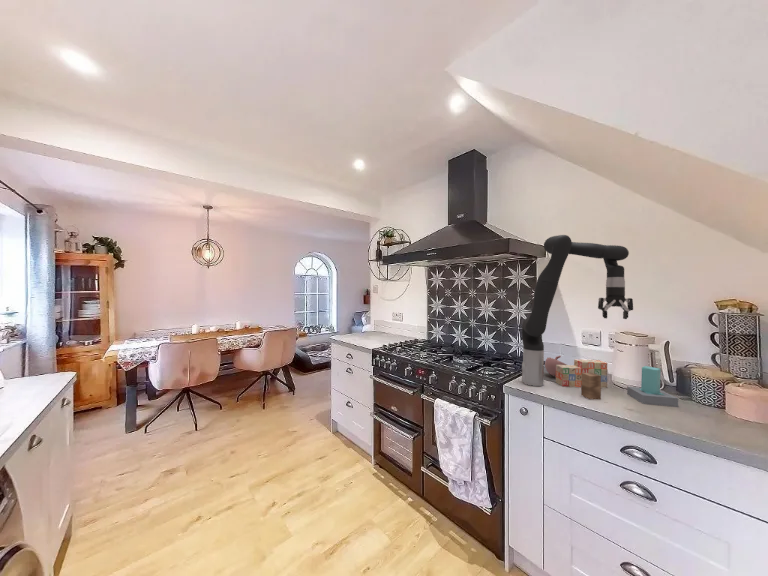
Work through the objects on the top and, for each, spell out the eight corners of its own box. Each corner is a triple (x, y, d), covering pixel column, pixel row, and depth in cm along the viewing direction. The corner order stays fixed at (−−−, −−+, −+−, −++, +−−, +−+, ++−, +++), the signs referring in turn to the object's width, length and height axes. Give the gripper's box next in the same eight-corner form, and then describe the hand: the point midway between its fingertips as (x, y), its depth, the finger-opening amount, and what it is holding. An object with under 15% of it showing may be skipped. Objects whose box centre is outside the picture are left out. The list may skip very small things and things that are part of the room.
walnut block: (589, 399, 127) (589, 375, 127) (581, 395, 132) (581, 372, 132) (600, 399, 127) (600, 376, 127) (592, 395, 132) (592, 372, 132)
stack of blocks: (562, 386, 144) (562, 361, 144) (555, 382, 150) (555, 358, 150) (607, 388, 143) (607, 362, 143) (598, 384, 149) (599, 359, 149)
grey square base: (642, 405, 123) (643, 394, 123) (627, 395, 134) (627, 386, 134) (678, 408, 120) (678, 397, 120) (658, 397, 131) (658, 388, 131)
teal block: (641, 390, 128) (641, 367, 128) (644, 388, 130) (645, 366, 130) (656, 394, 123) (657, 370, 123) (659, 392, 126) (660, 368, 126)
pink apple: (575, 379, 156) (575, 357, 157) (557, 380, 153) (557, 358, 153) (557, 373, 168) (557, 353, 168) (539, 374, 165) (539, 353, 165)
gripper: (602, 286, 147) (602, 318, 147) (636, 286, 143) (636, 319, 143) (595, 286, 154) (595, 317, 154) (627, 286, 151) (627, 318, 150)
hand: (615, 318), depth 148 cm, fingers open, 8 cm apart
